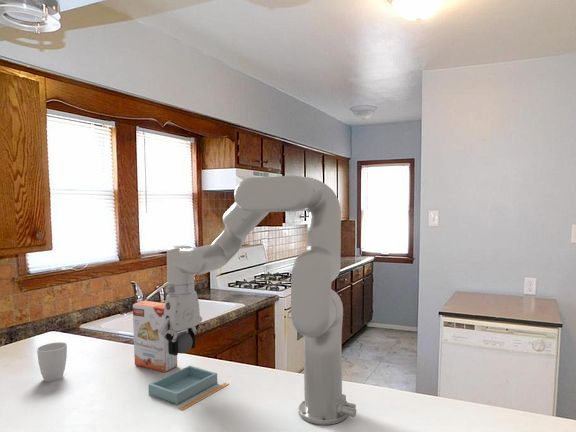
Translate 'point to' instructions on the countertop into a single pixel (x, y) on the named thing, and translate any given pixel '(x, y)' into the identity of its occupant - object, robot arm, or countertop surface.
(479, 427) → the countertop surface
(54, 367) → the cup
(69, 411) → the countertop surface
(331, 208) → the robot arm
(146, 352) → the cracker box
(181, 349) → the ball
